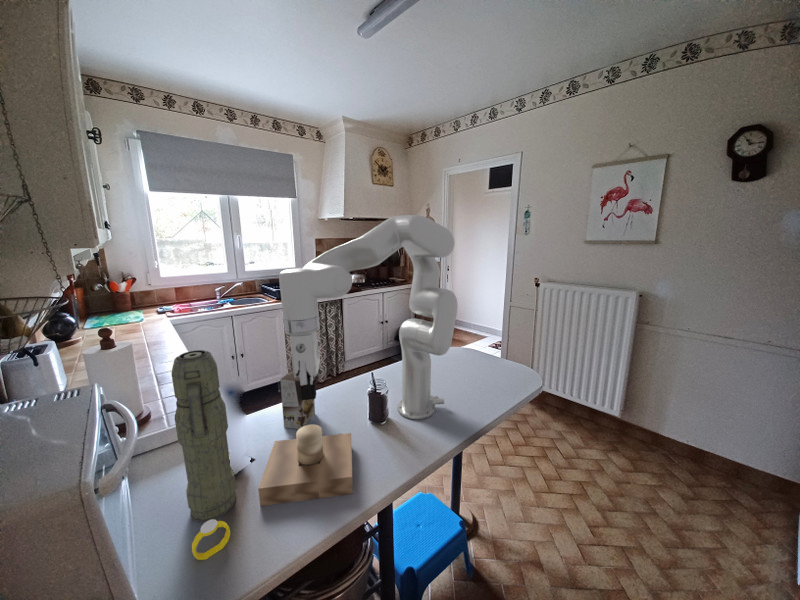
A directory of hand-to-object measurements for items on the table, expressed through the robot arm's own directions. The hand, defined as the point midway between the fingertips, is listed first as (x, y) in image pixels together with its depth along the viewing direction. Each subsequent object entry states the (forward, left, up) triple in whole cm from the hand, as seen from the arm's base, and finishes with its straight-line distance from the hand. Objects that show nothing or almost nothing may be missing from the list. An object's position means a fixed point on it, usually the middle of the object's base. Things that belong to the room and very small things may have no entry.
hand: (309, 397), depth 73 cm
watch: (+17, +17, -21) cm, 32 cm away
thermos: (+21, +6, -21) cm, 30 cm away
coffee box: (+7, -24, -21) cm, 32 cm away
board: (+1, 0, -20) cm, 20 cm away
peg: (0, 0, -20) cm, 20 cm away
